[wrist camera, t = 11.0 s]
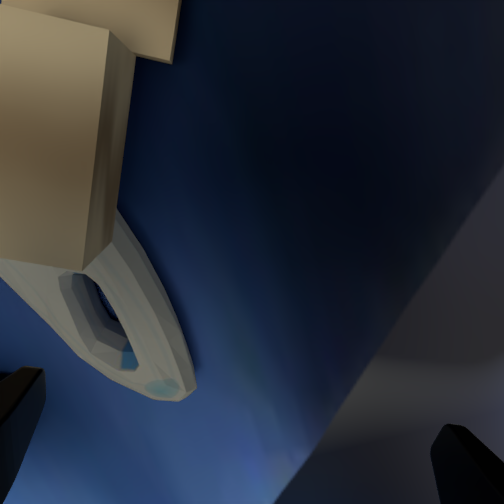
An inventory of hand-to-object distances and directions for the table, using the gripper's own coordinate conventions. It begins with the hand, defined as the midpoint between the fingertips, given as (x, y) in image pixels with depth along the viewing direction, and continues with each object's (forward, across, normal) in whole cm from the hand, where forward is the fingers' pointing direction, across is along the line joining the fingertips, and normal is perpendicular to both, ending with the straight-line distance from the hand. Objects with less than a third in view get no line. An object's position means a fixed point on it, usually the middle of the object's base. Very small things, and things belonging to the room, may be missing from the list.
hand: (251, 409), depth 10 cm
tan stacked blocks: (+10, +7, -6) cm, 14 cm away
